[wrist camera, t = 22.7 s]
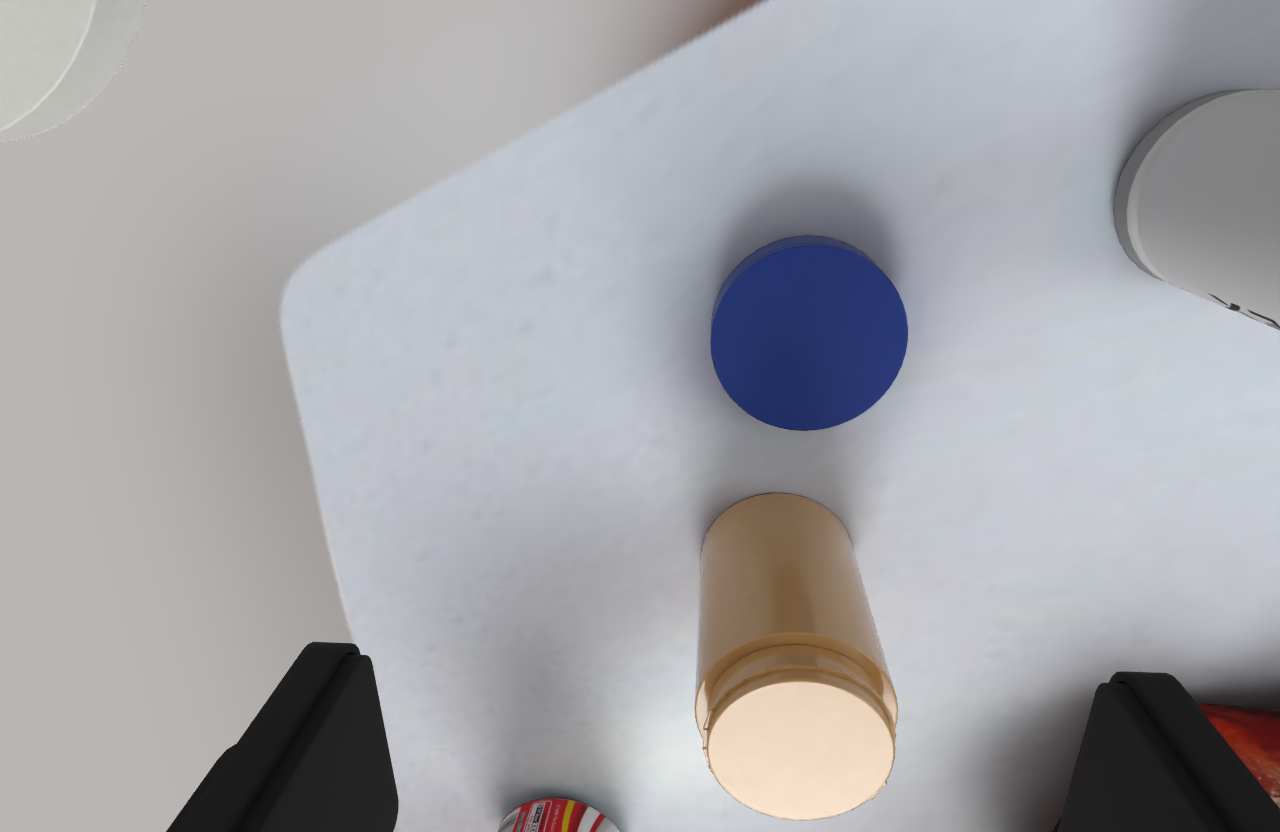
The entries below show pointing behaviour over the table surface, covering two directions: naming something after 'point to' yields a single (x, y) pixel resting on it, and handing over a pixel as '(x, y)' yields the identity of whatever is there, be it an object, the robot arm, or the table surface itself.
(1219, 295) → the travel mug
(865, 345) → the jar lid
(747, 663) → the jar
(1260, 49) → the table surface
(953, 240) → the table surface
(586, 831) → the soda can
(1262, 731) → the meat
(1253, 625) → the table surface
